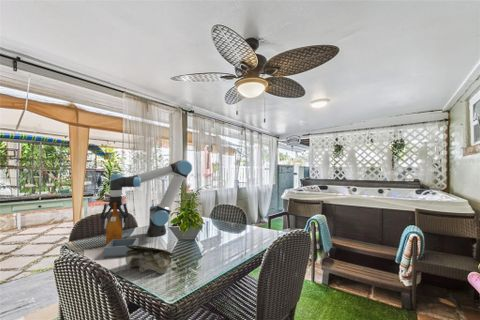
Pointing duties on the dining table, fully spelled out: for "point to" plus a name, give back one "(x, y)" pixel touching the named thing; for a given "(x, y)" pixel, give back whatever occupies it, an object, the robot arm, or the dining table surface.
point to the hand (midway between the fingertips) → (114, 227)
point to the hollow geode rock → (148, 258)
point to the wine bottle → (114, 226)
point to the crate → (119, 247)
